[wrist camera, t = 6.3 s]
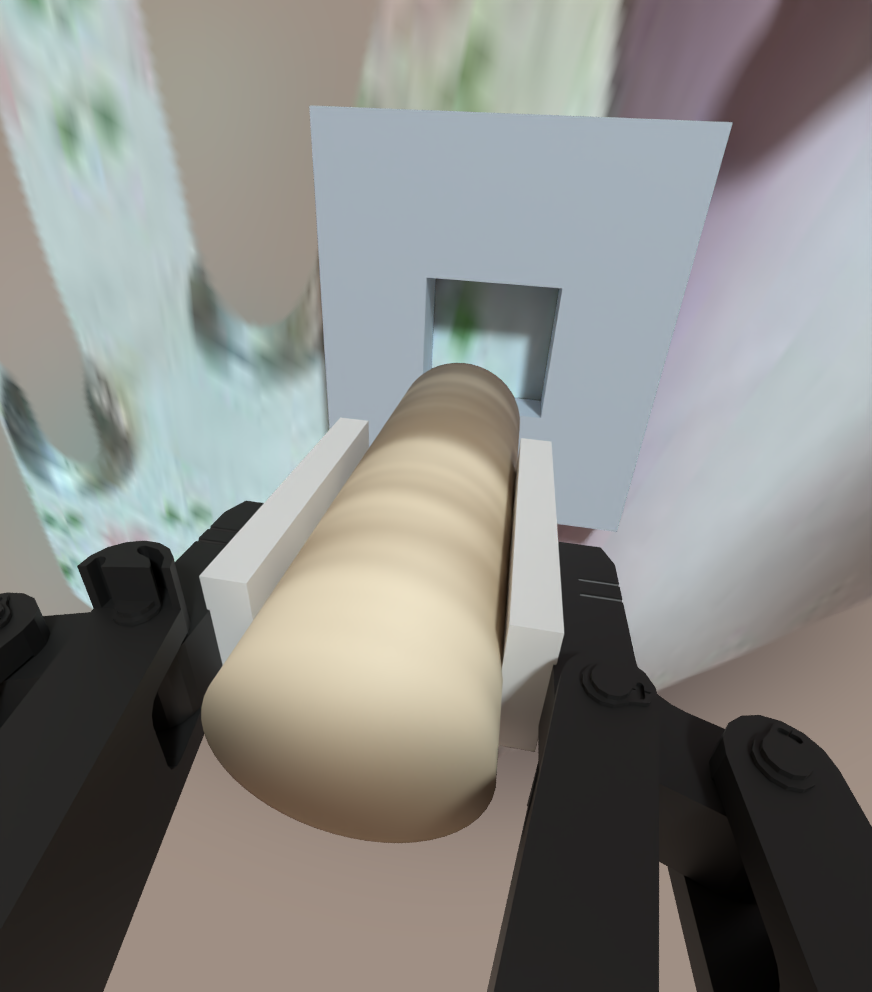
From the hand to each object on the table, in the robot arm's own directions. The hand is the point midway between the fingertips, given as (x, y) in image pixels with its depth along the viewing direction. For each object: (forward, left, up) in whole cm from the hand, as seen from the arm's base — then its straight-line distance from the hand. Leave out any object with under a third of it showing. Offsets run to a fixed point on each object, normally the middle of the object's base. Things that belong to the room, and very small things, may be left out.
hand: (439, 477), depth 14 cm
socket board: (0, 0, -15) cm, 15 cm away
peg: (0, 0, -4) cm, 4 cm away
